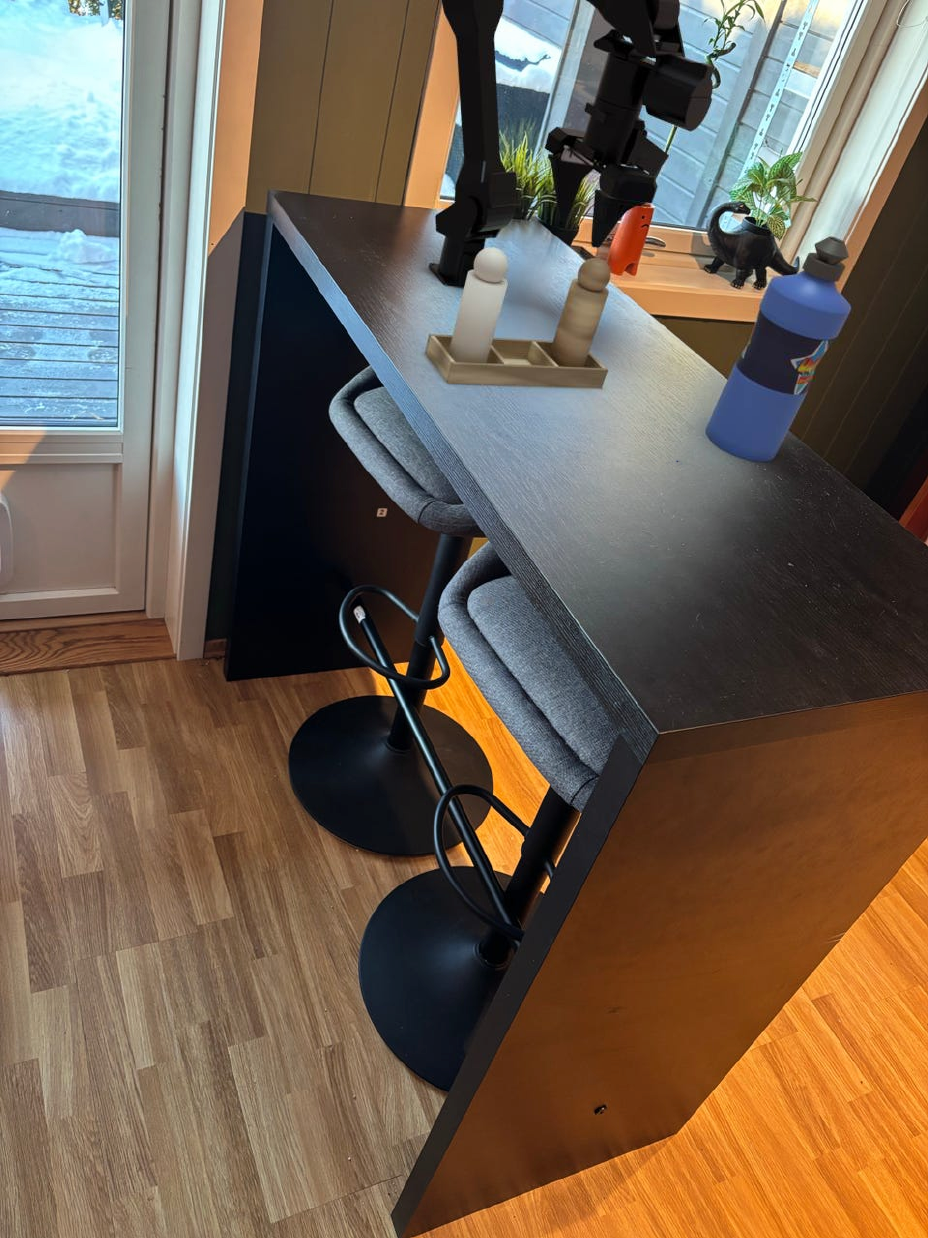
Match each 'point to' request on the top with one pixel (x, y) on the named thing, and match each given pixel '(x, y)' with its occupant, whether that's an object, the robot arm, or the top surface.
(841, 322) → the water bottle
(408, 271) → the top surface
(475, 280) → the salt mill
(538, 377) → the caddy
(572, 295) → the pepper mill
